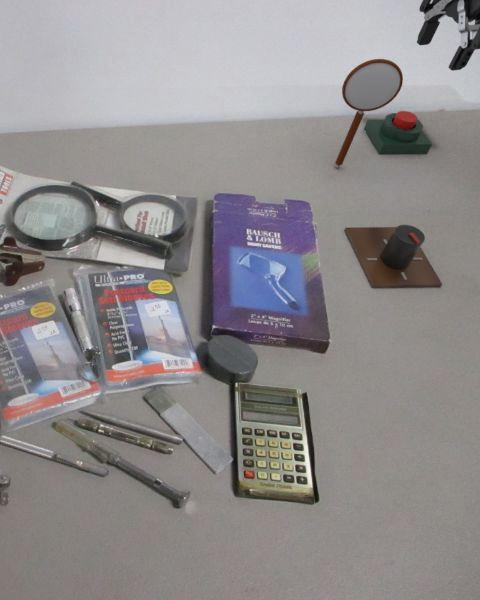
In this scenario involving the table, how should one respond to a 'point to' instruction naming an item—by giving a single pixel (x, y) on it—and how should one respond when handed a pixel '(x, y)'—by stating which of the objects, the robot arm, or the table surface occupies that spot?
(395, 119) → the button
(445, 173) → the table surface
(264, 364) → the table surface
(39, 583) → the table surface
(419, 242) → the knob
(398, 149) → the button box
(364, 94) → the magnifying glass
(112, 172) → the table surface
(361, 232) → the panel
